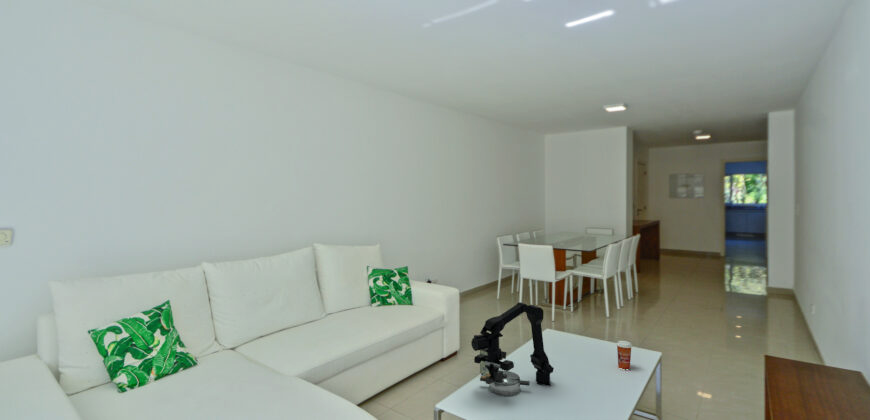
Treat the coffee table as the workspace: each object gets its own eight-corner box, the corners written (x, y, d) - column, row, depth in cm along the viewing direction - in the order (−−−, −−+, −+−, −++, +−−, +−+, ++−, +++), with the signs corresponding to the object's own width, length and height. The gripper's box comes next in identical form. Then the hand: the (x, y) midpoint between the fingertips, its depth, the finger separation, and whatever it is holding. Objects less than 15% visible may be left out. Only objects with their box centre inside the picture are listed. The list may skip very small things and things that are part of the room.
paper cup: (616, 369, 222) (616, 344, 221) (616, 364, 229) (616, 339, 229) (632, 372, 219) (632, 346, 218) (631, 366, 226) (631, 341, 226)
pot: (529, 385, 204) (529, 375, 204) (529, 399, 190) (529, 388, 190) (482, 380, 210) (482, 370, 210) (478, 393, 195) (478, 383, 195)
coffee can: (499, 369, 224) (499, 343, 223) (498, 377, 214) (498, 350, 213) (480, 367, 226) (480, 342, 225) (478, 375, 216) (478, 349, 215)
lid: (503, 369, 210) (503, 360, 210) (526, 379, 198) (526, 370, 198) (476, 380, 198) (476, 370, 198) (498, 391, 187) (498, 381, 187)
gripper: (519, 346, 193) (520, 379, 192) (486, 339, 205) (487, 370, 205) (507, 352, 184) (508, 387, 184) (473, 344, 196) (474, 377, 196)
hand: (494, 380), depth 192 cm, fingers closed
